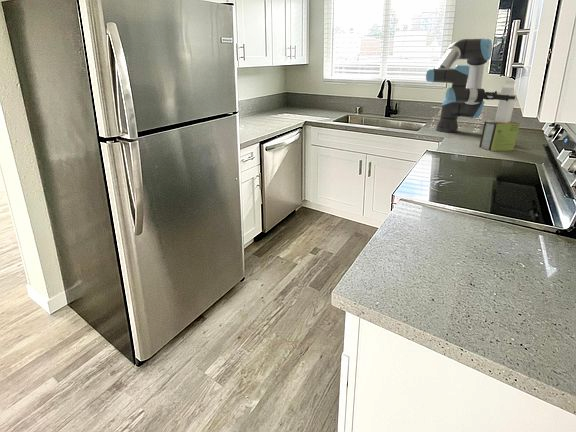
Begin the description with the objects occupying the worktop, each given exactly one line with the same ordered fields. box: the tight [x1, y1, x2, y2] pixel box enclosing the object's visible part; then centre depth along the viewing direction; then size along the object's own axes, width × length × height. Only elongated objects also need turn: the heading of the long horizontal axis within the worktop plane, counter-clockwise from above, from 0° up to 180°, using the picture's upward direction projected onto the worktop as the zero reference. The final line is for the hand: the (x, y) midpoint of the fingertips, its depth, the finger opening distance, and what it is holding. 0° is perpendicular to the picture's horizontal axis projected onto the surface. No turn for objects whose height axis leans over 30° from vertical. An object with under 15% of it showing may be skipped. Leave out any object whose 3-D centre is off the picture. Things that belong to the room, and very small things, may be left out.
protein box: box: [479, 120, 521, 152], centre depth 216 cm, size 10×15×16 cm
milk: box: [494, 80, 516, 123], centre depth 209 cm, size 6×6×22 cm
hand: (514, 96), depth 207 cm, fingers open, 13 cm apart
